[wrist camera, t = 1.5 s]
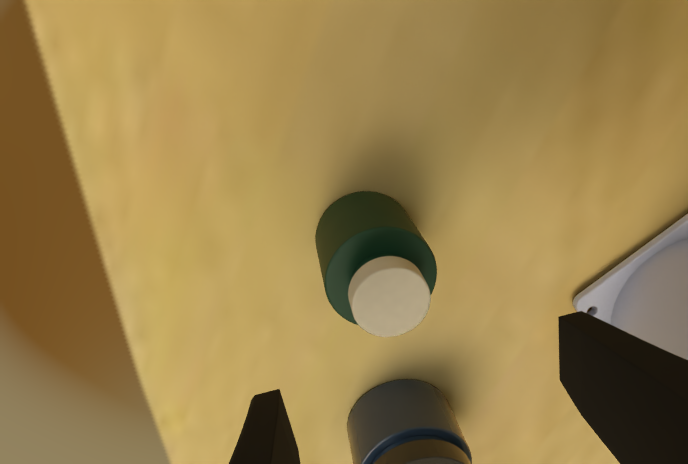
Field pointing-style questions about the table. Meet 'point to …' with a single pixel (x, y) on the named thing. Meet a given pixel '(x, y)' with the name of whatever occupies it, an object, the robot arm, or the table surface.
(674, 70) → the table surface
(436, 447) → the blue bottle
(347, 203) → the green bottle
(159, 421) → the table surface
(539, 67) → the table surface
